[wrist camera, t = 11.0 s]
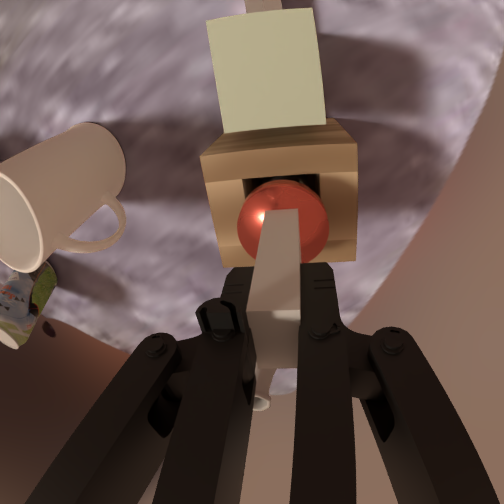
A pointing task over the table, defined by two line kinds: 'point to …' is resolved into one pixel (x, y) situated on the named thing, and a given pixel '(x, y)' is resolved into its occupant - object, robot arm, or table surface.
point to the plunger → (285, 197)
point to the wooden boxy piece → (279, 164)
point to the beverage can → (24, 303)
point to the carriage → (267, 69)
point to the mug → (58, 195)
